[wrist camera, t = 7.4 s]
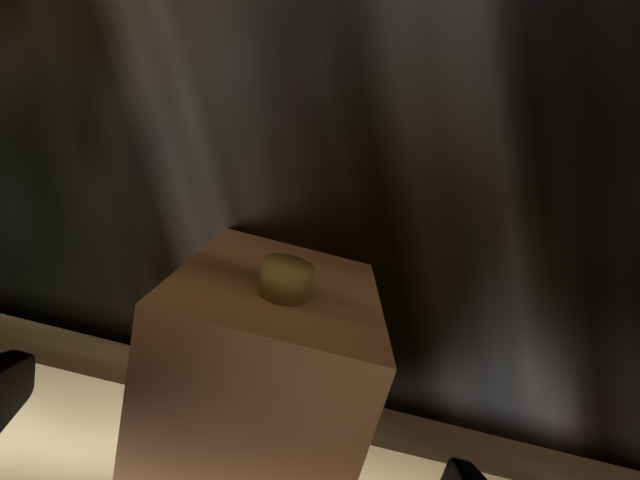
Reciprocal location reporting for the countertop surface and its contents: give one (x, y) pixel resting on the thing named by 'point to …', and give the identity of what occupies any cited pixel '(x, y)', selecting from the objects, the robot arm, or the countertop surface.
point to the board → (106, 405)
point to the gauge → (255, 367)
